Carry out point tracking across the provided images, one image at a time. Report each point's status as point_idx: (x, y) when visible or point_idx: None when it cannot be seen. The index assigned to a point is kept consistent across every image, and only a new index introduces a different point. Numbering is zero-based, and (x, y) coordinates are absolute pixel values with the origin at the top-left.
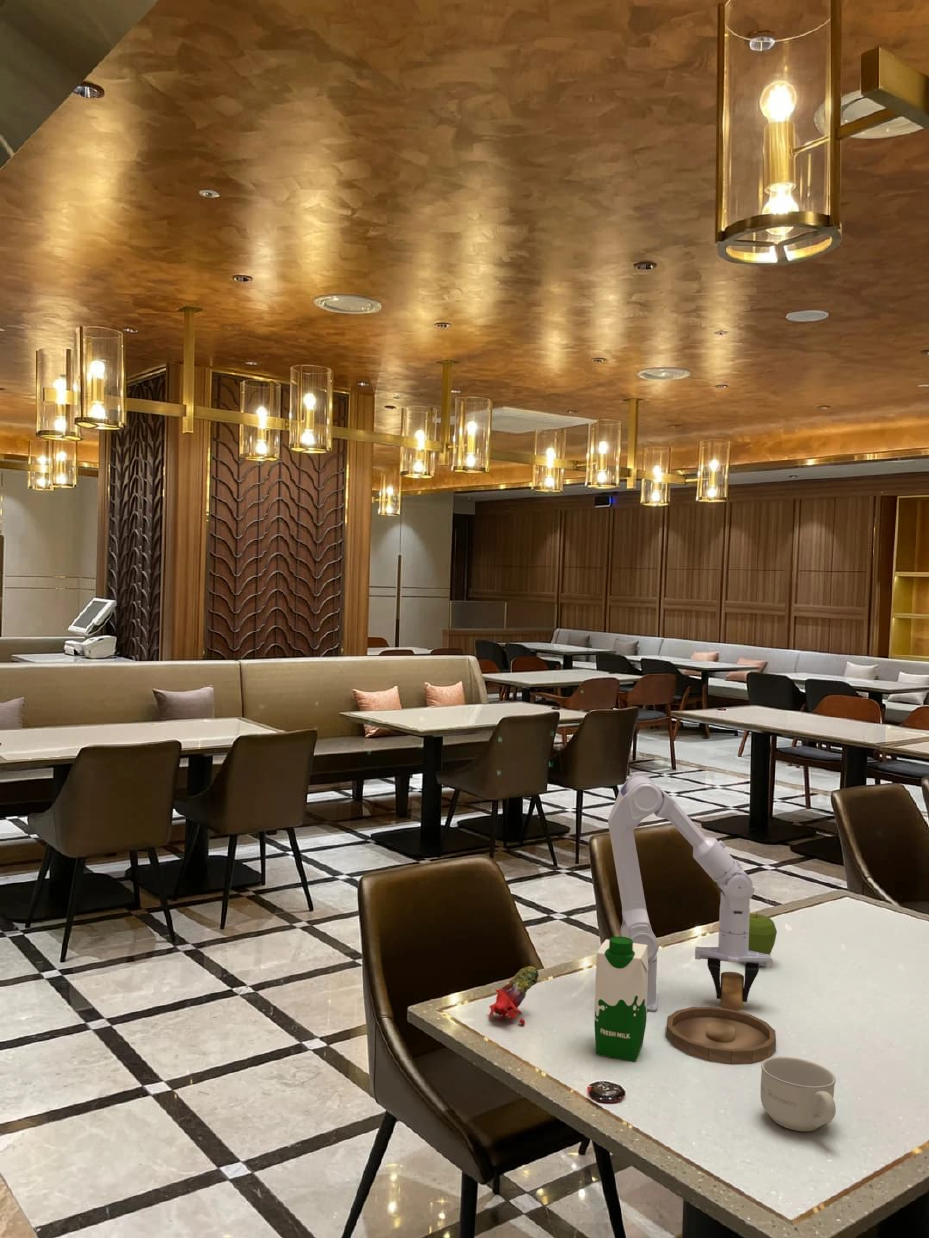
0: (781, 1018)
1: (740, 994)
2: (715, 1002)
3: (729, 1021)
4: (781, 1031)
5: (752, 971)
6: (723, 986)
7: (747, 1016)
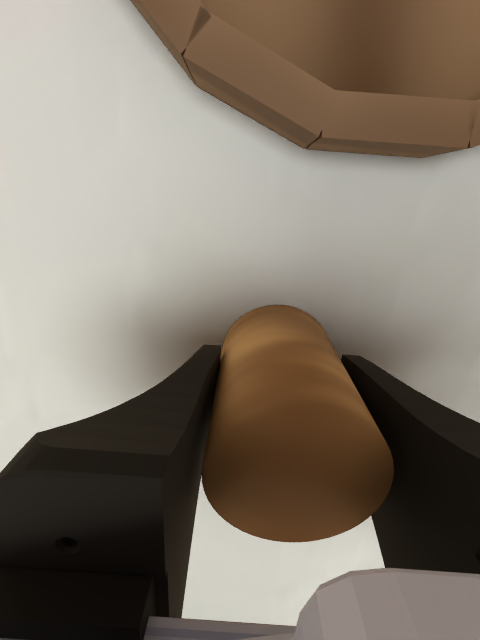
0: (37, 262)
1: (236, 355)
2: None
3: (329, 64)
4: (9, 50)
5: (71, 452)
6: (353, 387)
7: (208, 13)
